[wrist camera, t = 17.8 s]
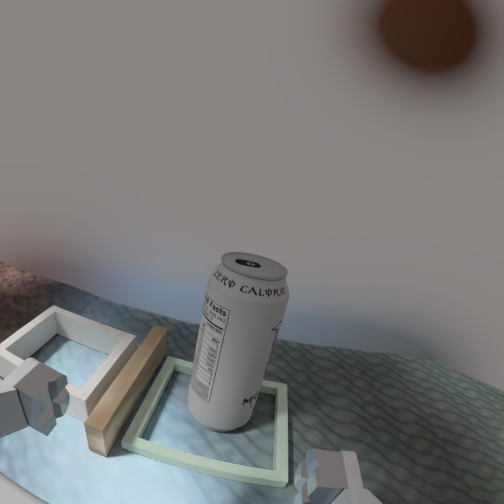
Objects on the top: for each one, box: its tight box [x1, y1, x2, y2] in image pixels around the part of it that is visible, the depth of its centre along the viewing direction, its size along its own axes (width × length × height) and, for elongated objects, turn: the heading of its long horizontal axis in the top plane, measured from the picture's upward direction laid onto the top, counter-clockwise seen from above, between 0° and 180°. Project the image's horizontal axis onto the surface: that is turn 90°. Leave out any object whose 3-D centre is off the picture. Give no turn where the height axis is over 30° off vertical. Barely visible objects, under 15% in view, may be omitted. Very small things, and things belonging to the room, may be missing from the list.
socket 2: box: [121, 356, 288, 488], centre depth 26 cm, size 13×13×1 cm
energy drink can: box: [187, 252, 289, 432], centre depth 25 cm, size 6×6×15 cm
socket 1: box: [0, 305, 136, 422], centre depth 25 cm, size 11×11×3 cm
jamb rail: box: [84, 324, 168, 457], centre depth 25 cm, size 2×16×4 cm, turn 176°
